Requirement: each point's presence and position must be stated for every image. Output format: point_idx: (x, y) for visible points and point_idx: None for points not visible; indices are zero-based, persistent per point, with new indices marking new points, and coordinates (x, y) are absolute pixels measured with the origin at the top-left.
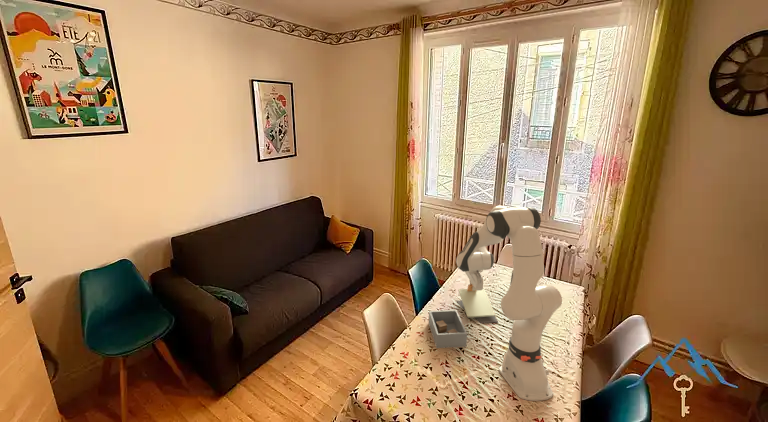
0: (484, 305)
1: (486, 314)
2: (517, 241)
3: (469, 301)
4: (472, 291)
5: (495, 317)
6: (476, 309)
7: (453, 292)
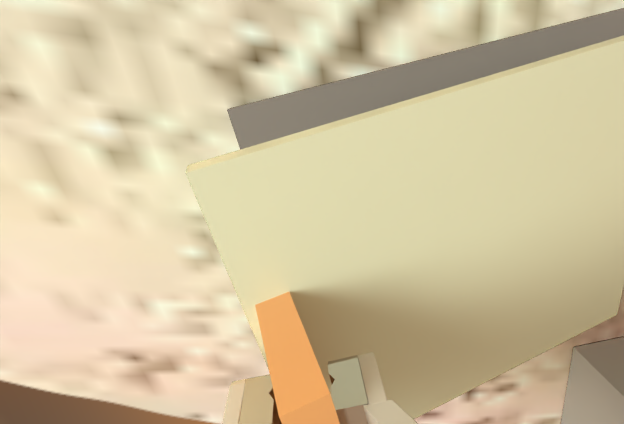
0: (540, 169)
1: None
2: None
3: (473, 336)
4: (314, 339)
5: (589, 18)
6: (571, 255)
7: (173, 362)
